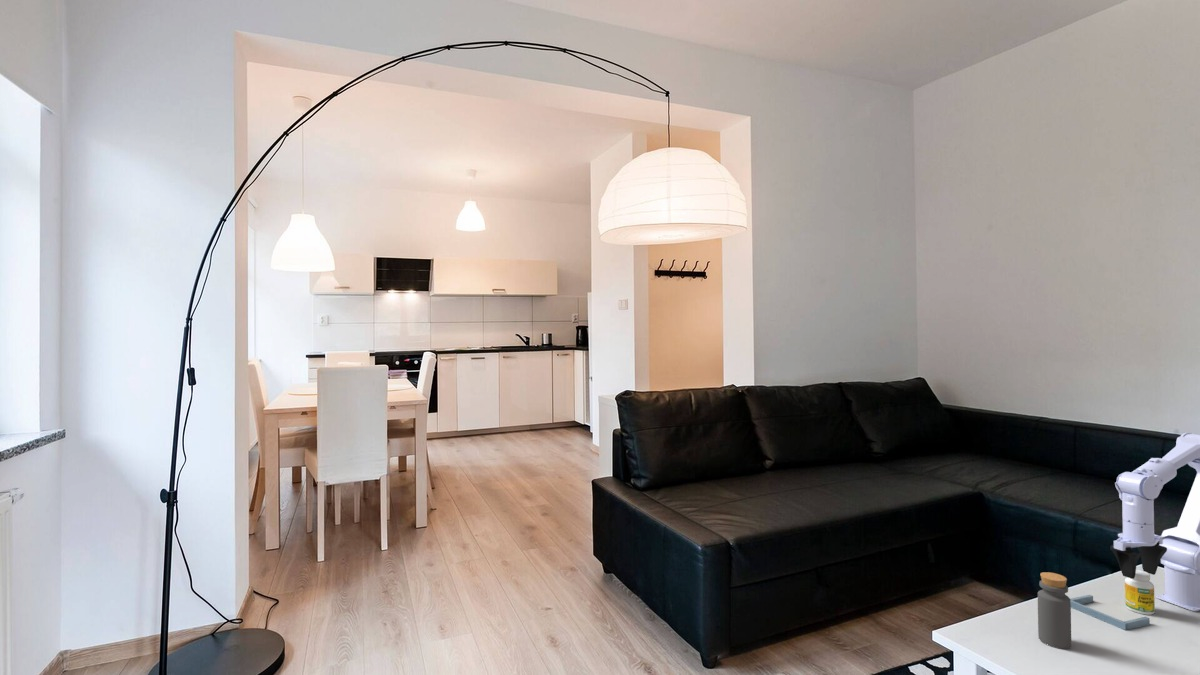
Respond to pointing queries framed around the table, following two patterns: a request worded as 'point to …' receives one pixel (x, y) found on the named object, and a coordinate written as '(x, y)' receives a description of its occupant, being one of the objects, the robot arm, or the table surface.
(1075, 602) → the blue-grey u-shaped bracket
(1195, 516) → the robot arm
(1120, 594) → the table surface
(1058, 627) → the bottle
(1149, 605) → the supplement bottle
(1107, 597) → the table surface
